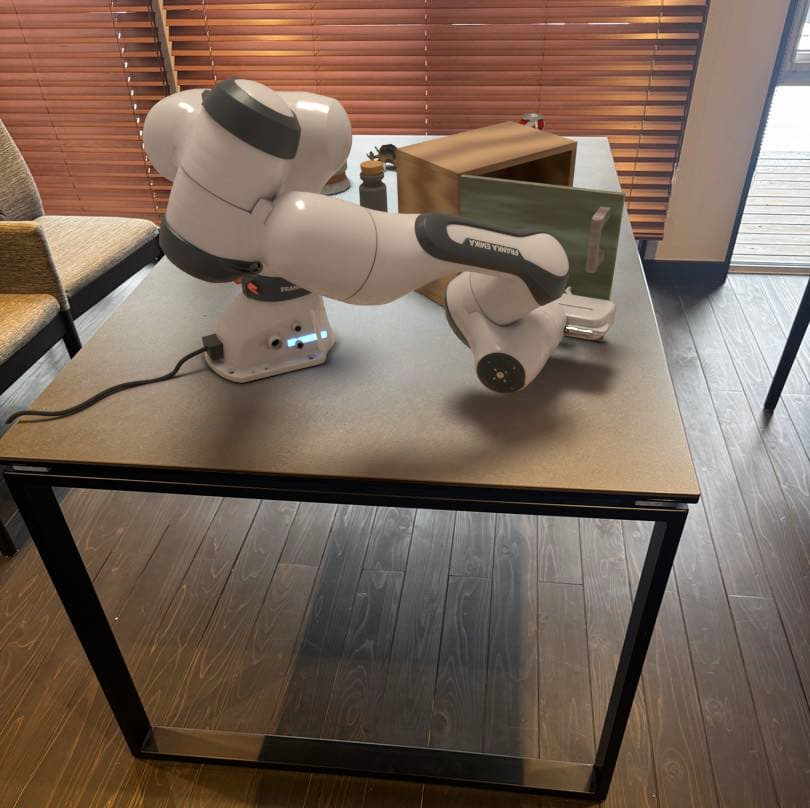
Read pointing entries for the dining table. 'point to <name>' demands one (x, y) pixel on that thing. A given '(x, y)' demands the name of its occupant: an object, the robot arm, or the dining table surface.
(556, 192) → the door
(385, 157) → the eagle figurine
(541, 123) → the soda can
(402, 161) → the cupboard
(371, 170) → the bottle
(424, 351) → the dining table surface
